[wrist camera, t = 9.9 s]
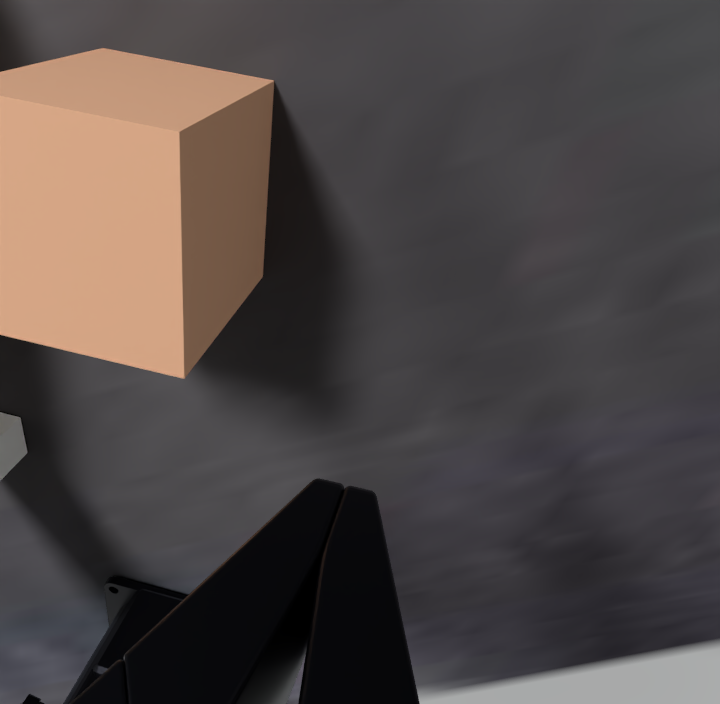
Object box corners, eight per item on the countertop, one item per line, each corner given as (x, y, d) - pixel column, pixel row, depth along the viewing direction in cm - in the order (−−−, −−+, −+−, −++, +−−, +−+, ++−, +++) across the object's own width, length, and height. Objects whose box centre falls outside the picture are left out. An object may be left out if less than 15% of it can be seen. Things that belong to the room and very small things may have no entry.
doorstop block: (263, 275, 21) (184, 378, 16) (119, 244, 21) (-3, 334, 16) (274, 79, 17) (179, 131, 12) (103, 47, 18) (-55, 84, 13)
